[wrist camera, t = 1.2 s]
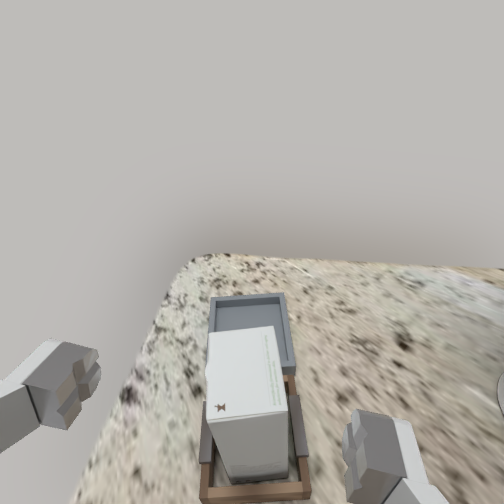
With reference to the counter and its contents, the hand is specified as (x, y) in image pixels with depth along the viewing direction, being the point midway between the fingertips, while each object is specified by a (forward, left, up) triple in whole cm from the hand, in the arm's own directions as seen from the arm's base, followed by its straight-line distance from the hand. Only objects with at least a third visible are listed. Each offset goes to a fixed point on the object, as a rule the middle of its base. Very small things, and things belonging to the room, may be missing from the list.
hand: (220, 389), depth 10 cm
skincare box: (0, -9, -30) cm, 31 cm away
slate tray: (0, -22, -30) cm, 37 cm away
